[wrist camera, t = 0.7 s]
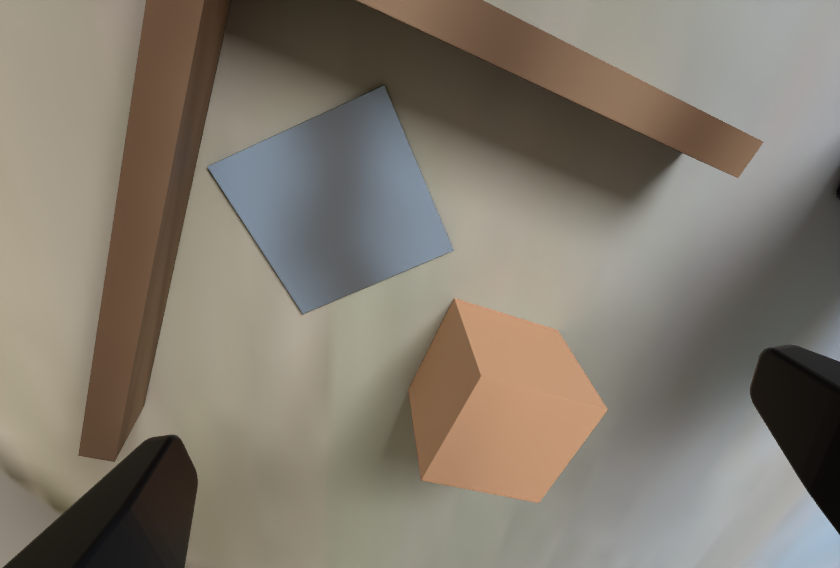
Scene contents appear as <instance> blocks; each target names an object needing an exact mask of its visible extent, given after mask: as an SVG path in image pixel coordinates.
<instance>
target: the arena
mask: <svg viewBox="0 0 840 568" xmlns="http://www.w3.org/2000/svg"><path fill="white" fill-rule="evenodd" d="M355 1H357V2H359V3H362V4H364V5H366V6H368V7H370V8H372V9H375V10H377V11H379V12H381V13H383V14H385V15H387V16H390V17H392V18H394V19H396V20H398V21H400V22H402V23H405V24H407V25H409V26H411V27H413V28H415V29H417V30H420V31H422V32H424V33H426V34H428V35H430V36H432V37H435V38H437V39H439V40H441V41H443V42H445V43H447V44H450V45H452V46H454V47H456V48H458V49H460V50H462V51H465V52H467V53H469V54H471V55H473V56H475V57H478V58H480V59H482V60H484V61H486V62H488V63H490V64H493V65H495V66H497V67H499V68H501V69H503V70H505V71H508V72H510V73H512V74H514V75H516V76H518V77H520V78H523V79H525V80H527V81H529V82H531V83H533V84H535V85H538V86H540V87H542V88H544V89H546V90H548V91H550V92H553V93H555V94H557V95H559V96H561V97H563V98H566V99H568V100H570V101H572V102H574V103H576V104H578V105H581V106H583V107H585V108H587V109H589V110H591V111H593V112H596V113H598V114H600V115H602V116H604V117H606V118H608V119H611V120H613V121H615V122H617V123H619V124H621V125H623V126H626V127H628V128H630V129H632V130H634V131H636V132H638V133H641V134H643V135H645V136H647V137H649V138H651V139H653V140H656V141H658V142H660V143H662V144H664V145H666V146H669V147H671V148H673V149H675V150H677V151H679V152H681V153H684V154H686V155H688V156H690V157H692V158H695V159H697V160H699V161H701V162H704V163H706V164H708V165H710V166H712V167H715V168H717V169H719V170H721V171H724V172H726V173H728V174H730V175H733V176H735V177H737V178H738V177H739V176H740V175H741V173H742V172H743V170H744V169H745V168H746V166H747V165H748V163H749V162H750V160H751V159H752V158H753V156H754V155H755V153H756V152H757V151H758V149H759V148H760V146H761V145H762V143H763V141H761V140H759V139H757V138H755V137H753V136H751V135H749V134H747V133H745V132H743V131H741V130H739V129H737V128H735V127H733V126H731V125H729V124H727V123H725V122H723V121H721V120H719V119H717V118H715V117H713V116H711V115H709V114H707V113H705V112H703V111H701V110H699V109H697V108H695V107H693V106H691V105H689V104H687V103H685V102H683V101H681V100H679V99H677V98H675V97H673V96H671V95H669V94H667V93H665V92H663V91H661V90H659V89H657V88H655V87H653V86H651V85H649V84H647V83H645V82H643V81H641V80H640V79H638V78H636V77H634V76H632V75H630V74H628V73H626V72H624V71H622V70H620V69H618V68H616V67H614V66H612V65H610V64H608V63H606V62H604V61H602V60H600V59H598V58H596V57H594V56H592V55H590V54H588V53H586V52H584V51H582V50H580V49H578V48H576V47H574V46H572V45H570V44H568V43H566V42H564V41H562V40H560V39H558V38H556V37H554V36H552V35H550V34H548V33H546V32H544V31H542V30H540V29H538V28H536V27H534V26H532V25H530V24H528V23H526V22H524V21H522V20H520V19H518V18H516V17H514V16H512V15H511V14H509V13H507V12H505V11H503V10H501V9H499V8H497V7H495V6H493V5H491V4H489V3H487V2H485V1H483V0H355ZM230 4H231V0H146V6H145V13H144V19H143V26H142V33H141V40H140V46H139V53H138V60H137V66H136V73H135V80H134V87H133V93H132V100H131V107H130V113H129V120H128V127H127V134H126V140H125V147H124V154H123V160H122V167H121V174H120V181H119V187H118V194H117V201H116V207H115V214H114V221H113V228H112V234H111V241H110V248H109V254H108V261H107V268H106V275H105V281H104V288H103V295H102V301H101V308H100V315H99V322H98V328H97V335H96V342H95V348H94V355H93V362H92V369H91V375H90V382H89V389H88V395H87V402H86V409H85V416H84V422H83V429H82V436H81V442H80V449H79V456H84V457H90V458H96V459H101V460H107V461H113V462H115V460H116V458H117V456H118V454H119V453H120V451H121V449H122V447H123V445H124V443H125V441H126V439H127V437H128V435H129V433H130V431H131V430H132V428H133V426H134V424H135V422H136V420H137V418H138V416H139V414H140V412H141V410H142V409H143V407H144V404H145V399H146V395H147V390H148V385H149V381H150V376H151V371H152V367H153V362H154V357H155V353H156V348H157V344H158V339H159V334H160V330H161V325H162V320H163V316H164V311H165V306H166V302H167V297H168V292H169V288H170V283H171V278H172V274H173V269H174V264H175V260H176V255H177V250H178V246H179V241H180V236H181V232H182V227H183V222H184V218H185V213H186V208H187V204H188V199H189V194H190V190H191V185H192V181H193V176H194V171H195V167H196V162H197V157H198V153H199V148H200V143H201V139H202V134H203V129H204V125H205V120H206V115H207V111H208V106H209V101H210V97H211V92H212V87H213V83H214V78H215V73H216V69H217V64H218V59H219V55H220V50H221V45H222V41H223V36H224V31H225V27H226V22H227V17H228V13H229V8H230ZM208 169H209V170H210V172H211V173H212V175H213V176H214V178H215V180H216V181H217V183H218V184H219V186H220V187H221V189H222V190H223V192H224V193H225V195H226V196H227V198H228V200H229V201H230V203H231V204H232V206H233V207H234V209H235V210H236V212H237V213H238V215H239V216H240V218H241V220H242V221H243V223H244V224H245V226H246V227H247V229H248V230H249V232H250V233H251V235H252V236H253V238H254V240H255V241H256V243H257V244H258V246H259V247H260V249H261V250H262V252H263V253H264V255H265V256H266V258H267V260H268V261H269V263H270V264H271V266H272V267H273V269H274V270H275V272H276V273H277V275H278V276H279V278H280V280H281V281H282V283H283V284H284V286H285V287H286V289H287V290H288V292H289V293H290V295H291V296H292V298H293V300H294V301H295V303H296V304H297V306H298V307H299V309H300V310H301V312H302V313H303V314H304V313H306V312H309V311H311V310H313V309H316V308H318V307H320V306H323V305H325V304H328V303H330V302H332V301H335V300H337V299H339V298H342V297H344V296H347V295H349V294H351V293H354V292H356V291H358V290H361V289H363V288H365V287H368V286H370V285H373V284H375V283H377V282H380V281H382V280H384V279H387V278H389V277H392V276H394V275H396V274H399V273H401V272H403V271H406V270H408V269H411V268H413V267H415V266H418V265H420V264H422V263H425V262H427V261H430V260H432V259H434V258H437V257H439V256H441V255H444V254H446V253H448V252H451V251H453V248H452V245H451V243H450V241H449V238H448V236H447V233H446V231H445V229H444V226H443V224H442V221H441V219H440V217H439V214H438V212H437V210H436V207H435V205H434V202H433V200H432V198H431V195H430V193H429V191H428V188H427V186H426V183H425V181H424V179H423V176H422V174H421V172H420V169H419V167H418V164H417V162H416V160H415V157H414V155H413V152H412V150H411V148H410V145H409V143H408V141H407V138H406V136H405V133H404V131H403V129H402V126H401V124H400V122H399V119H398V117H397V114H396V112H395V110H394V107H393V105H392V103H391V100H390V98H389V95H388V93H387V91H386V88H385V86H384V85H383V86H381V87H379V88H377V89H375V90H373V91H370V92H368V93H366V94H364V95H362V96H360V97H357V98H355V99H353V100H351V101H349V102H346V103H344V104H342V105H340V106H338V107H336V108H333V109H331V110H329V111H327V112H325V113H323V114H320V115H318V116H316V117H314V118H312V119H310V120H307V121H305V122H303V123H301V124H299V125H297V126H294V127H292V128H290V129H288V130H286V131H284V132H281V133H279V134H277V135H275V136H273V137H271V138H268V139H266V140H264V141H262V142H260V143H258V144H255V145H253V146H251V147H249V148H247V149H244V150H242V151H240V152H238V153H236V154H234V155H231V156H229V157H227V158H225V159H223V160H221V161H218V162H216V163H214V164H212V165H210V166H208Z"/></svg>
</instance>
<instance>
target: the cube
mask: <svg viewBox="0 0 840 568" xmlns="http://www.w3.org/2000/svg"><path fill="white" fill-rule="evenodd" d="M408 391H409V398H410V405H411V412H412V419H413V426H414V433H415V440H416V447H417V454H418V462H419V469H420V476H421V480H422V481H427V482H432V483H438V484H443V485H448V486H453V487H458V488H464V489H469V490H474V491H479V492H484V493H490V494H495V495H500V496H505V497H511V498H516V499H521V500H526V501H531V502H537V503H539V502H540V501H541V499H542V498H543V497H544V495H545V494H546V493H547V491H548V490H549V489H550V487H551V486H552V485H553V483H554V482H555V481H556V479H557V478H558V476H559V475H560V474H561V472H562V471H563V470H564V468H565V467H566V466H567V464H568V463H569V462H570V460H571V459H572V458H573V456H574V455H575V454H576V452H577V451H578V449H579V448H580V447H581V445H582V444H583V443H584V441H585V440H586V439H587V437H588V436H589V435H590V433H591V432H592V431H593V429H594V428H595V427H596V425H597V424H598V422H599V421H600V420H601V418H602V417H603V416H604V414H605V413H606V412H607V410H608V409H607V407H606V406H605V404H604V403H603V401H602V399H601V398H600V396H599V395H598V393H597V392H596V390H595V388H594V387H593V385H592V384H591V382H590V380H589V379H588V377H587V376H586V374H585V373H584V371H583V369H582V368H581V366H580V365H579V363H578V361H577V360H576V358H575V357H574V355H573V354H572V352H571V350H570V349H569V347H568V346H567V344H566V342H565V341H564V339H563V338H562V336H561V334H560V333H559V331H558V330H556V329H552V328H549V327H546V326H543V325H539V324H536V323H533V322H530V321H526V320H523V319H520V318H517V317H513V316H510V315H507V314H504V313H501V312H497V311H494V310H491V309H488V308H484V307H481V306H478V305H475V304H471V303H468V302H465V301H462V300H458V299H455V298H454V300H453V302H452V304H451V306H450V308H449V310H448V312H447V314H446V316H445V318H444V320H443V322H442V324H441V326H440V328H439V330H438V332H437V334H436V336H435V338H434V340H433V342H432V343H431V345H430V347H429V349H428V351H427V353H426V355H425V357H424V359H423V361H422V363H421V365H420V367H419V369H418V371H417V373H416V375H415V377H414V379H413V381H412V383H411V385H410V387H409V389H408Z"/></svg>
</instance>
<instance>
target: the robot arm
mask: <svg viewBox="0 0 840 568" xmlns="http://www.w3.org/2000/svg"><path fill="white" fill-rule="evenodd" d="M836 195H837V198H838V199H839V200H840V186H839V187H838V189H837V193H836ZM750 395H751V399H752V402H753V404H754V406H755V407H756V409H757V411H758V412H759V414H760V416H761V417H762V419H763V420H764V422H765V424H766V425H767V427H768V429H769V430H770V432H771V433H772V435H773V437H774V438H775V440H776V442H777V443H778V445H779V446H780V448H781V450H782V451H783V453H784V455H785V456H786V458H787V459H788V461H789V463H790V464H791V466H792V468H793V469H794V471H795V472H796V474H797V476H798V477H799V479H800V480H801V482H802V483H803V485H804V486H805V488H806V489H807V491H808V493H809V494H810V495H811V497H812V498H813V500H814V501H815V502H816V504H817V505H818V507H819V508H820V509H821V511H822V512H823V513H824V515H825V516H826V517H827V519H828V520H829V521H830V523H831V524H832V525H833V527H834V528H835V529H836V531H837V532H838V533H839V535H840V362H839V361H836V360H833V359H831V358H828V357H825V356H823V355H820V354H817V353H815V352H812V351H809V350H807V349H804V348H801V347H798V346H795V345H784V346H777V347H770V348H767V349H764V350H763V351H762V353H761V354H760V356H759V359H758V363H757V366H756V369H755V373H754V376H753V379H752V383H751V386H750ZM197 486H198V479H197V473H196V470H195V467H194V465H193V463H192V461H191V459H190V457H189V455H188V453H187V450H186V448H185V446H184V444H183V442H182V440H181V439H180V438H179V437H178V436H177V435H166V436H159V437H152V438H149V439H147V440H145V441H144V442H143V443H141V444H140V445H139V446H138V447H137V448H136V449H135V450H134V451H132V452H131V453H130V454H129V455H128V456H127V457H126V458H125V459H124V460H122V461H121V462H120V463H119V464H118V465H117V466H116V467H115V468H113V469H112V470H111V471H110V472H109V473H108V474H107V475H106V476H105V477H103V478H102V479H101V480H100V481H99V482H98V483H97V484H96V485H94V486H93V487H92V488H91V489H90V490H89V491H88V492H87V493H86V494H84V495H83V496H82V497H81V498H80V499H79V500H78V501H77V502H75V503H74V504H73V505H72V506H71V507H70V508H69V509H68V510H67V511H65V512H64V513H63V514H62V515H61V516H60V517H59V518H58V519H56V520H55V521H54V522H53V523H52V524H51V525H50V526H49V527H48V528H46V529H45V530H44V531H43V532H42V533H41V534H40V535H39V536H37V537H36V538H35V539H34V540H33V541H32V542H31V543H30V544H29V545H27V546H26V547H25V548H24V549H23V550H22V551H21V552H20V553H18V554H17V555H16V556H15V557H14V558H13V559H12V560H11V561H10V562H8V563H7V564H6V565H5V566H4V567H3V568H185V561H186V555H187V549H188V543H189V536H190V530H191V524H192V518H193V512H194V505H195V499H196V493H197Z"/></svg>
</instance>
